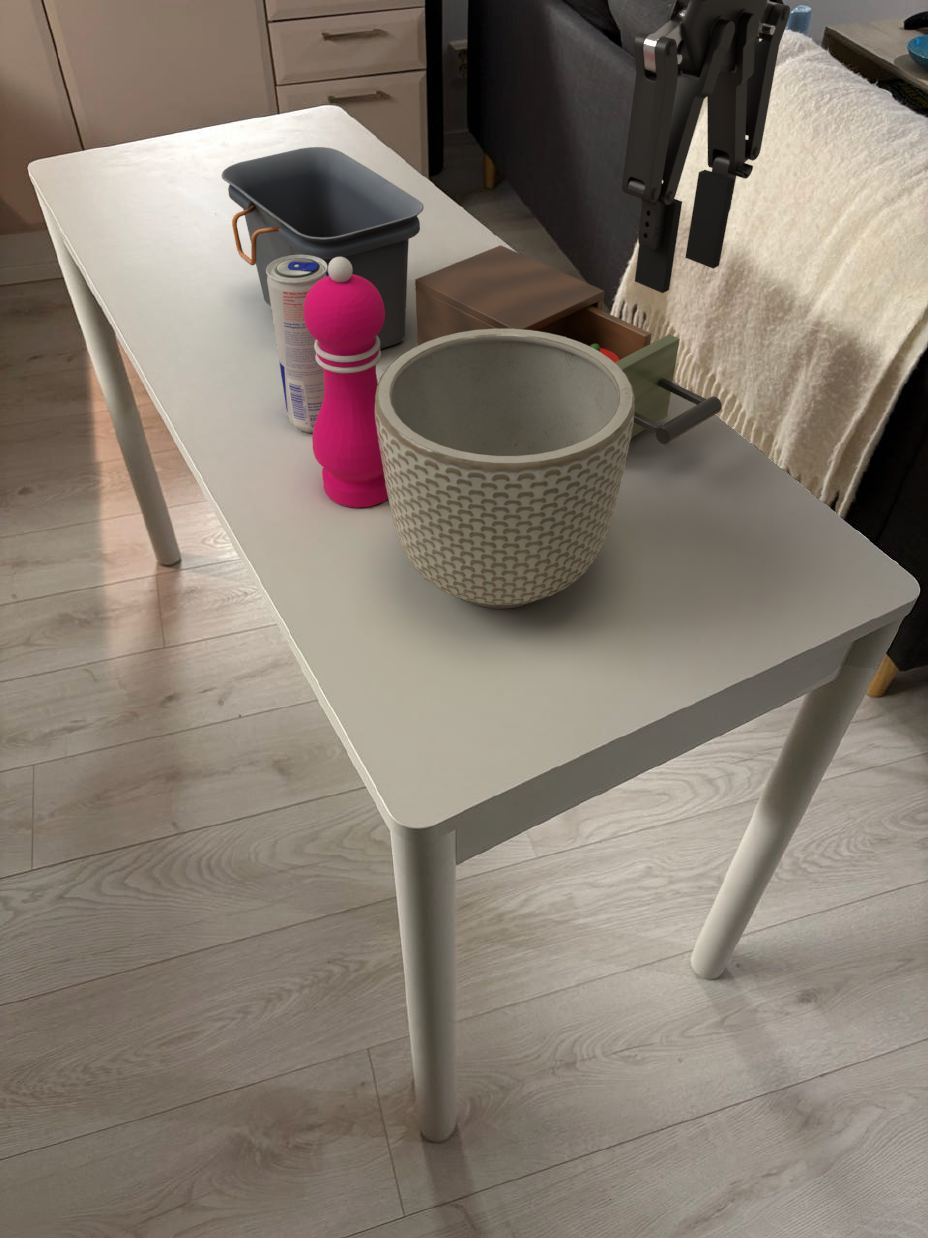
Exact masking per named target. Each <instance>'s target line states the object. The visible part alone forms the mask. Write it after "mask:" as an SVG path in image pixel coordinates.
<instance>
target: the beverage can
mask: <svg viewBox="0 0 928 1238" xmlns="http://www.w3.org/2000/svg"><path fill="white" fill-rule="evenodd" d="M327 270H328V266H327V264H326V262H325V261H324V260H322V259H320V258H318V257H315V256H310V255H291V256H286V257H282V258H279V259H276V260H274V261H273V262H271V263H270V264H269V265H268V266H267V268H266V273H267V275H268V277H267V283H268V289H269V296H270V303H271V306H270V308H271V315H272V322H273V329H274V336H275V340H276V341H275V342H276V343H275V344H276V348H277V356H278V362H279V369H280V375H281V382H282V389H283V395H284V401H285V408H286V409H285V410H286V414H287V419H288V421H289V422H290V424H291V425H292V426H294V427H295V428H298V429H299V430H300V431H302V432H305V433H310V434H313V430H314V425H315V421H316V419H317V416H318V414H319V411H320V408H321V405H322V402H323V397H324V391H325V387H324V373H323V368H322V367H321V366H320V365H319V364H318V363H317V361H316V358H315V355H316V351H315V348H314V343H315V340H316V339H315V338H314V337H313V336H312V335H311V334H310V332H309V331H308V329H307V327H306V325H305V321H304V311H303V309H304V301H305V298H306V296H307V293H308V292H309V290H310V288H311V287H312V286H313V285H314V284H315V283H316V282H318V281H319V280H321V279H323V278H324V277H327V276H329V274H328V272H327Z"/></svg>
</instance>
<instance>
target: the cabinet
mask: <svg viewBox="0 0 928 1238" xmlns="http://www.w3.org/2000/svg"><path fill="white" fill-rule="evenodd" d="M414 287H415V289H414V291H415V314H416V335H417V336H416V339H417V346H419V345H421V344H423V343H425V342H428V341H431V340H433V339H436V338H439V337H442V336H446V335H451V334H455V333H459V332H466V331H472V330H482V329H523V330H533V331H536V330H539V329H541V328H543V327H545V326H547V325H549V324H551V323H553V322H556V321H558V320H560V319H562V318H564V317H566V316H568V315H570V314H573V313H575V312H577V311H579V310H581V309H583V308H585V307H587V306H593V307H595V308H597V309H599V310H601V311H604V302H605V301H604V299H605V290H603V289H601V288H599V287H597V286H595V285H592V284H590V283H587V282H585V281H583V280H581V279H579V278H576V277H574V276H572V275H570V274H568V273H565V272H563V271H560V270H558V269H556V268H553V267H551V266H549V265H546V264H544V263H542V262H540V261H537V260H535V259H533V258H530V257H528V256H527V255H524V254H522V253H519V252H517V251H515V250H512V249H511V248H508V247H506V246H504V245H497V246H495V247H493V248H490V249H488V250H485V251H483V252H480V253H478V254H475V255H473V256H470V257H467V258H465V259H463V260H460V261H458V262H455V263H453V264H450V265H448V266H445V267H443V268H440V269H438V270H435V271H432V272H430V273H427V274H424V275H422V276H420V277H417V278H415V279H414Z"/></svg>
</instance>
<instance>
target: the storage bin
mask: <svg viewBox="0 0 928 1238" xmlns="http://www.w3.org/2000/svg"><path fill="white" fill-rule="evenodd" d="M221 179H222V180H223V181H224V182H226V183H227V184H229V185H228V188H227V190H228V197H229V198H230V199H231V200H232V201H233V202H234V203H235V204H237V206H238V207H240V208H242V210H241V211H238V212H236V213H235V214H234V215H233V217H232V219H231V224H232V230H233V236H234V242H235V246H236V250H237V252H238V255H239V257H240V258H241V259H243V260H244V261H245V262H246V263H247V264H249V265H250V266H256V270H257V271H256V272H257V275H258V279H259V283H260V287H261V292H262V296H263V300H264V302H265V303H266V304H267V305H268V306H269V307H271V303H270V296H269V289H268V283H267V277H268V275H267V273H266V268H267V266H268V265H269V264H270V263H271V262H273V261H274V260H276V259H279V258H282V257H286V256H291V255H310V256H315V257H318V258H320V259H322V260H324V261H325V262H326V264H327V266H328V265H329V263H330V261H331V260H332V259H334V258H336V257H344V258H346V259H347V260H349V262H350V263H351V265H352V269H353V272H352V274H354V275H357V276H360V277H363V278H365V279H366V280H368V281H370V282H371V283H372V284H373V285H374V286H375V287H376V288H377V290H378V291H379V293H380V295H381V297H382V300H383V304H384V309H385V320H384V324H383V326H382V329H381V331H380V332H379V333H378V334H377V336H378V337H379V339H380V347H379V348H380V350H382V349H384V348H385V349H386V348H388V347H390V346H394V345H397V344H399V343H401V342H402V341H403V340H404V339H405V336H406V322H407V321H406V318H407V290H408V289H407V288H408V265H409V243H410V241H409V240H410V239H412V238H414V237H416V236H417V234H419V233H420V231H421V223H420V219H419V217H418V216H419V215H420V214H421V213H422V212H423V211H424V208H425V207H424V203H422V202H421V200H419V199H418V198H416V197H414V196H413V195H411V194H410V193H409V192H407V191H405V190H404V189H402V188H400V187H399V186H397V185H395V183H394V182H391V181H389V180H388V179H386V178H384V177H383V176H382V175H380V174H378V173H377V172H375V171H374V170H372V169H371V168H369V167H368V166H366V165H364V164H362V163H361V162H359V161H357V160H356V159H354V158H352V157H350V156H349V155H347V154H346V153H345V152H342V151H340V150H338V149H335V148H331V147H327V146H326V147H325V146H311V147H310V146H309V147H301V148H296V149H293V150H287V151H284V152H280V153H275V154H270V155H265V156H261V157H257V158H252V159H248V160H244V161H240V162H237V163H234V164H231V165H230V166H228V167H225V169H224V170H222V172H221ZM243 216H244V219H245V223H246V227H247V231H248V237H249V240H250V244H251V246H250V248H251V249H250V250H251V252H250V253H251V257H250V256H248V255H246V254H245V252H244V251H243V248H242V243H241V238H240V234H239V229H238V221H239V219H240V218H241V217H243ZM327 272H328V270H327ZM328 274H329V273H328Z"/></svg>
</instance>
